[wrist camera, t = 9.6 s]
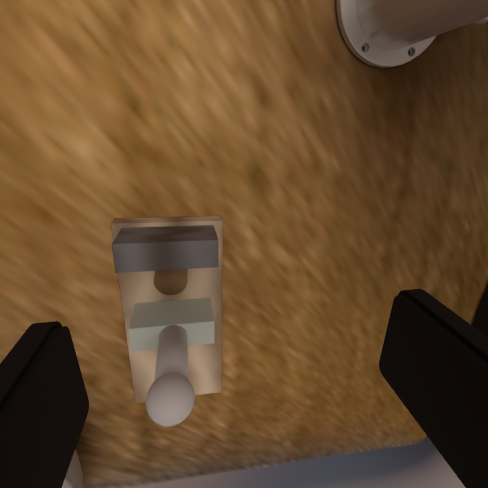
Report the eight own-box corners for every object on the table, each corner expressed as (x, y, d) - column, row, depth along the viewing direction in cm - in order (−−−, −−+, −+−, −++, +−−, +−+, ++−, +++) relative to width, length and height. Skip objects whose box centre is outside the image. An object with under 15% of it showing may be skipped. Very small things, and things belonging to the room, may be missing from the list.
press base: (220, 215, 36) (228, 234, 30) (220, 381, 46) (226, 422, 39) (115, 218, 34) (99, 239, 28) (137, 391, 43) (130, 437, 37)
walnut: (186, 254, 35) (186, 265, 32) (187, 281, 36) (188, 294, 34) (154, 255, 35) (152, 267, 32) (157, 283, 36) (155, 296, 33)
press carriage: (210, 294, 38) (226, 392, 24) (210, 321, 39) (226, 428, 25) (134, 299, 36) (105, 409, 22) (138, 327, 37) (112, 446, 23)
